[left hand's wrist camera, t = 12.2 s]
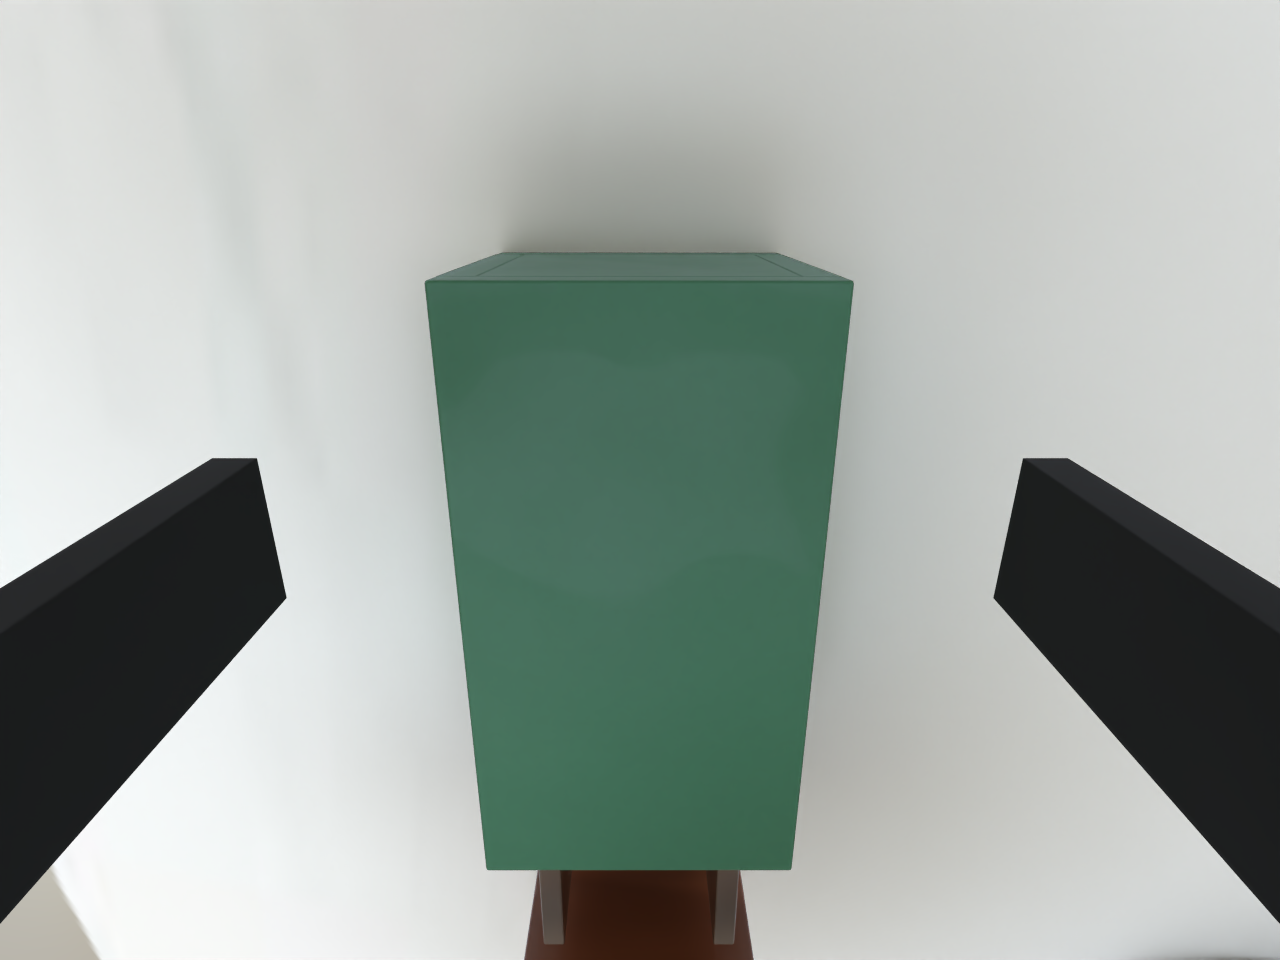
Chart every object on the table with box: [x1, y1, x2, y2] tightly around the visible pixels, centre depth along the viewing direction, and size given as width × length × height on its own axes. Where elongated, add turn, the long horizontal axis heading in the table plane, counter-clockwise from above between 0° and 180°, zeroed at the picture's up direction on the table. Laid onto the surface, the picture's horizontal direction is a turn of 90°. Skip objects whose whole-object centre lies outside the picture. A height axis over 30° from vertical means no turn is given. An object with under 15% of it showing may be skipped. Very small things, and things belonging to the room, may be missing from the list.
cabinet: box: [425, 253, 854, 870], centre depth 25 cm, size 19×10×10 cm, turn 0°
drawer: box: [524, 870, 754, 960], centre depth 29 cm, size 24×9×8 cm, turn 0°
